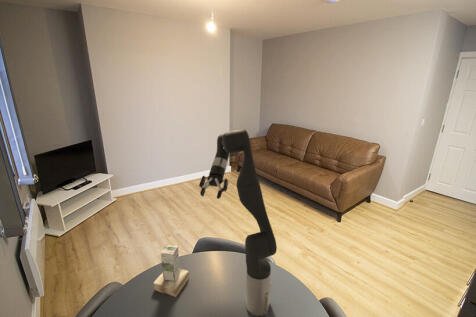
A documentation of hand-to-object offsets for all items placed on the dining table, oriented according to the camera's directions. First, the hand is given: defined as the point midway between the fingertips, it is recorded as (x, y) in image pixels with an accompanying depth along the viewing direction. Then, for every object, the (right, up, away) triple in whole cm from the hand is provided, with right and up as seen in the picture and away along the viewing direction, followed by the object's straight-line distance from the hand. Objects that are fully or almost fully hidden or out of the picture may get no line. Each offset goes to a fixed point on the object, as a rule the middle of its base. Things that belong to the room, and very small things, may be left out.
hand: (209, 197), depth 112 cm
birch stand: (-16, -38, -8) cm, 42 cm away
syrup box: (-16, -34, -9) cm, 39 cm away
